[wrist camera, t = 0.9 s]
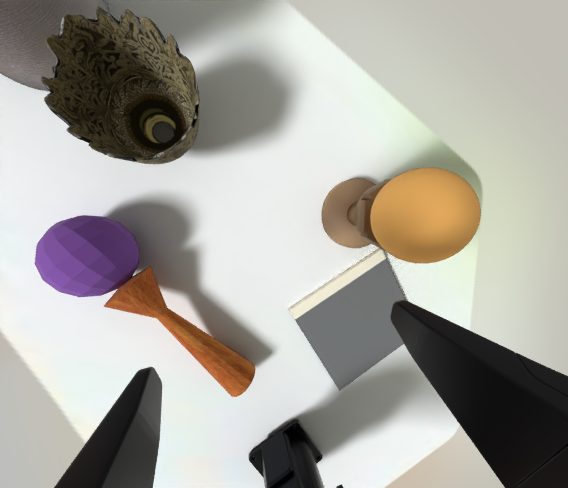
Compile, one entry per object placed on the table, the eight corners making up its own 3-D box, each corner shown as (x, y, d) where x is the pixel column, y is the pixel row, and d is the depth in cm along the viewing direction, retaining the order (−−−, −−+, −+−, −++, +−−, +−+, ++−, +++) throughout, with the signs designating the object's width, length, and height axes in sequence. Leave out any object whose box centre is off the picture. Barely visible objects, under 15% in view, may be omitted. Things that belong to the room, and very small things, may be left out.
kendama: (214, 426, 21) (-17, 268, 14) (222, 371, 26) (58, 239, 20) (267, 388, 20) (52, 206, 14) (264, 340, 26) (110, 194, 19)
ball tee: (391, 225, 26) (442, 230, 20) (340, 258, 26) (376, 275, 19) (365, 167, 25) (412, 153, 18) (310, 201, 24) (338, 198, 18)
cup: (127, 68, 19) (58, -29, 11) (219, 107, 21) (214, 48, 13) (103, 159, 19) (21, 126, 12) (195, 189, 21) (176, 178, 14)
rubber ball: (433, 228, 20) (521, 237, 14) (373, 268, 20) (439, 295, 14) (405, 160, 19) (490, 136, 13) (340, 200, 18) (397, 196, 12)
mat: (288, 308, 25) (289, 310, 24) (379, 248, 26) (381, 249, 26) (338, 388, 28) (340, 391, 27) (417, 329, 29) (420, 331, 29)
